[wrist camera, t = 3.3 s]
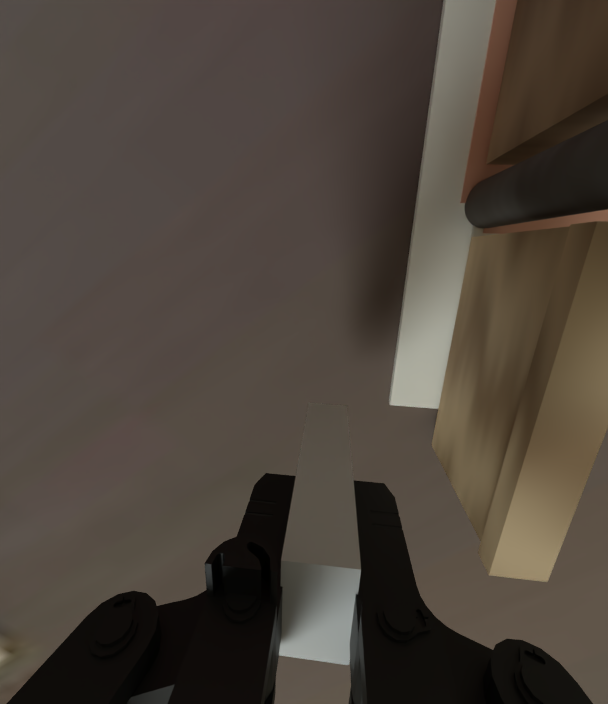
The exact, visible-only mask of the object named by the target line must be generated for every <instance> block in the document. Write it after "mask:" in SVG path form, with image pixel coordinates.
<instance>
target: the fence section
mask: <svg viewBox="0 0 608 704" xmlns="http://www.w3.org/2000/svg"><path fill="white" fill-rule="evenodd" d="M486 164H495V165H513V166H511V167H509V168H507V169H505V170H503V171H501V172H499V173H497V174H495V175H493V176H491V177H489V178H487V179H484V180H482V181H481V182H479V183H478V184H477V185H475V186H474V187H473V189H472V190H471V191H470V193H469V195H468V197H467V200H466V203H465V215H466V217H467V219H468V221H469V222H470V223H471V224H472V225H474V226H476V227H478V228H492V227H499V226H505V225H511V224H518V223H524V222H531V221H537V220H543V219H550V218H556V217H563V216H569V215H575V214H582V213H588V212H594V211H601V210H607V209H608V0H517V5H516V10H515V15H514V21H513V26H512V31H511V36H510V41H509V46H508V52H507V57H506V62H505V67H504V72H503V78H502V83H501V88H500V93H499V98H498V103H497V109H496V114H495V119H494V124H493V129H492V135H491V140H490V145H489V150H488V155H487V160H486Z"/></svg>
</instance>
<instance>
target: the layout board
mask: <svg viewBox="0 0 608 704" xmlns="http://www.w3.org/2000/svg"><path fill="white" fill-rule="evenodd" d="M516 5H517V0H443V7H442V15H441V22H440V29H439V37H438V44H437V51H436V59H435V66H434V73H433V81H432V88H431V95H430V103H429V110H428V117H427V125H426V132H425V139H424V147H423V154H422V161H421V169H420V176H419V183H418V191H417V198H416V205H415V213H414V220H413V227H412V235H411V242H410V249H409V257H408V264H407V271H406V279H405V286H404V293H403V301H402V308H401V315H400V323H399V330H398V337H397V345H396V352H395V359H394V367H393V374H392V381H391V389H390V396H389V404H390V405H396V406H409V407H422V408H436V409H439V404H440V399H441V393H442V388H443V383H444V378H445V373H446V368H447V362H448V357H449V352H450V347H451V342H452V336H453V331H454V326H455V321H456V316H457V311H458V305H459V300H460V295H461V290H462V285H463V279H464V274H465V269H466V264H467V259H468V254H469V248H470V243H471V238H472V237H478V236H487V235H496V234H505V233H514V232H523V231H532V230H541V229H550V228H559V227H568V226H570V225H571V224H578V223H586V222H595V221H607V222H608V209H607V210H601V211H594V212H588V213H582V214H575V215H569V216H563V217H556V218H550V219H543V220H537V221H531V222H524V223H518V224H511V225H505V226H499V227H492V228H478V227H476V226H474V225H472V224H471V223H470V222H469V221H468V219H467V217H466V215H465V203H466V200H467V197H468V195H469V193H470V191H471V190H472V189H473V187H474V186H475V185H477V184H478V183H479V182H481V181H482V180H484V179H487V178H489V177H491V176H493V175H495V174H497V173H499V172H501V171H503V170H505V169H507V168H509V167H511V166H513V165H495V164H486V160H487V155H488V150H489V145H490V140H491V135H492V129H493V124H494V119H495V114H496V109H497V103H498V98H499V93H500V88H501V83H502V78H503V72H504V67H505V62H506V57H507V52H508V46H509V41H510V36H511V31H512V26H513V21H514V15H515V10H516Z"/></svg>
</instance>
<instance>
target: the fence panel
mask: <svg viewBox="0 0 608 704" xmlns="http://www.w3.org/2000/svg"><path fill="white" fill-rule="evenodd" d="M607 428H608V222H607V221H595V222H586V223H578V224H571V225H570V226H568V227H559V228H550V229H541V230H532V231H523V232H514V233H505V234H496V235H487V236H478V237H472V238H471V243H470V248H469V254H468V259H467V264H466V269H465V274H464V279H463V285H462V290H461V295H460V300H459V305H458V311H457V316H456V321H455V326H454V331H453V336H452V342H451V347H450V352H449V357H448V362H447V368H446V373H445V378H444V383H443V388H442V393H441V399H440V404H439V409H438V414H437V419H436V424H435V430H434V435H433V440H432V447H433V449H434V451H435V453H436V455H437V457H438V459H439V461H440V462H441V464H442V466H443V468H444V470H445V472H446V474H447V476H448V478H449V480H450V482H451V484H452V486H453V488H454V490H455V492H456V494H457V496H458V498H459V500H460V502H461V504H462V506H463V508H464V510H465V512H466V513H467V515H468V517H469V519H470V521H471V523H472V525H473V527H474V529H475V531H476V533H477V535H478V537H479V539H480V541H481V543H480V547H479V551H478V554H479V556H480V558H481V560H482V562H483V564H484V566H485V568H486V570H487V572H488V574H489V575H491V576H500V577H509V578H518V579H526V580H535V581H544V582H548V579H549V577H550V574H551V572H552V569H553V566H554V564H555V561H556V559H557V556H558V554H559V551H560V549H561V546H562V543H563V541H564V538H565V536H566V533H567V531H568V528H569V525H570V523H571V520H572V518H573V515H574V513H575V510H576V508H577V505H578V502H579V500H580V497H581V495H582V492H583V490H584V487H585V484H586V482H587V479H588V477H589V474H590V472H591V469H592V467H593V464H594V461H595V459H596V456H597V454H598V451H599V449H600V446H601V444H602V441H603V438H604V436H605V433H606V431H607Z"/></svg>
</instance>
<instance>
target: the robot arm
mask: <svg viewBox="0 0 608 704" xmlns="http://www.w3.org/2000/svg"><path fill="white" fill-rule="evenodd" d="M398 514H399V513H398V509H397V505H396V501H395V497H394V496H393V495H392V493H391V492H390V491H389V489H388V488H387V487H386V485H385V484H384V483H374V482H363V481H354V479H353V468H352V456H351V444H350V432H349V420H348V408H347V406H346V405H333V404H320V403H309V404H308V409H307V415H306V421H305V426H304V432H303V438H302V443H301V449H300V455H299V461H298V466H297V472H296V476H289V475H279V474H269V473H266V474H265V475H264V476H263V477H262V478H261V479H260V480H259V481H258V482H257V483H256V484H255V486H254V489H253V491H252V494H251V497H250V502H249V503H248V506H247V509H246V513H245V515H244V517H243V520H242V523H241V526H240V529H239V532H238V535H237V537H235V538H232V539H230V540H227V541H225V542H223V543H222V544H221V545H219V546H218V547H217V548H216V549H214V550H213V551H212V553H211V554H210V556H209V557H208V559H207V561H206V562H205V574H206V587H207V590H206V591H204V592H203V593H201V594H199V595H197V596H195V597H192V598H189V599H186V600H182V601H177V602H173V603H168V604H164V605H160V606H156V603H155V600H153V599H152V598H151V597H150V596H149V595H148V594H147V593H142V592H137V591H131V592H126V593H122V594H118V595H116V596H114V597H112V598H110V599H108V600H107V601H105V602H103V603H101V604H100V605H99V606H98V607H97V608H96V609H95V610H93V611H92V612H91V613H90V614H89V615H88V616H87V617H86V618H85V619H84V620H83V621H82V622H81V623H80V624H79V625H78V627H77V628H76V629H75V630H74V631H73V632H72V633H71V634H70V635H69V636H68V637H67V639H66V640H65V641H64V642H63V643H62V644H61V645H60V646H59V647H58V648H57V649H56V651H55V652H54V653H53V654H52V655H51V656H50V657H49V658H48V659H47V660H46V661H45V663H44V664H43V665H42V666H41V667H40V668H39V669H38V670H37V671H36V672H35V673H34V675H33V676H32V677H31V678H30V679H29V680H28V681H27V682H26V683H25V684H24V685H23V687H22V688H21V689H20V690H19V691H18V692H17V693H16V694H15V695H14V696H13V697H12V699H11V700H10V701H9V702H8V703H7V704H274V700H275V682H276V671H277V664H278V657H279V655H281V656H288V657H295V658H302V659H309V660H316V661H323V662H330V663H337V664H344V665H349V661H350V669H351V691H350V698H349V704H593V703H592V702H591V701H590V699H589V698H588V697H587V695H586V694H585V692H584V691H583V690H582V688H581V687H580V686H579V684H578V683H577V682H576V681H575V680H574V679H573V677H572V676H571V675H570V674H569V673H568V672H567V671H566V670H565V669H564V667H563V666H562V665H561V664H560V663H559V662H558V661H556V660H555V659H554V658H552V657H551V656H550V655H548V654H547V653H546V652H544V651H543V650H542V649H541V648H538V647H536V646H534V645H532V644H530V643H527V642H525V641H523V640H514V639H506V640H504V641H502V642H500V643H498V644H496V645H495V648H494V650H492V649H490V648H487V647H485V646H483V645H481V644H479V643H477V642H475V641H473V640H471V639H469V638H467V637H464V636H462V635H460V634H458V633H457V632H455V631H453V630H452V629H450V628H448V627H447V626H445V625H444V624H443V623H442V622H441V621H439V620H438V619H437V618H436V617H435V616H434V615H433V614H432V612H431V611H430V610H429V609H428V608H427V606H426V605H425V603H424V601H423V600H422V598H421V596H420V594H419V591H418V588H417V586H416V582H415V578H414V574H413V570H412V565H411V561H410V557H409V553H408V549H407V545H406V541H405V537H404V533H403V530H402V525H401V521H400V517H399V515H398Z"/></svg>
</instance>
